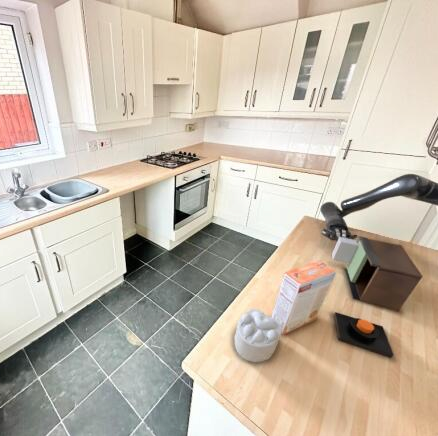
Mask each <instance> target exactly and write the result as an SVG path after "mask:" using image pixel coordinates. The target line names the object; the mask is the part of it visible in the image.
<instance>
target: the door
mask: <svg viewBox="0 0 438 436" xmlns="http://www.w3.org/2000/svg"><path fill="white" fill-rule="evenodd" d="M331 258H332V261H334V262H338V263H344V264H347V266H346V269H347V270H348V274H349V277H350V280H351V282H353V283H355V282H356V280H357V278H358V276H359V274H360V272H361V270H362V268H363V266H364V264H365V263H366V261H367V259H368V258H367V255H366V253H365V251H364V248H363V246H362V244H361V242H360V240H359V241H357V239H356V240H352V239H347V238H342V237H339V239H338V241H337V242H336V244H335V246H334V248H333V251H332V253H331Z"/></svg>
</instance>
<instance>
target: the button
mask: <svg viewBox="0 0 438 436" xmlns="http://www.w3.org/2000/svg"><path fill="white" fill-rule="evenodd" d="M360 319H361V320H359V321H358V322H357V324H356V326H357V328H358V329H359V330H361V331H362V332H364V333H367V334H370V333H372V331H373V330H374V326H373V325H372V324H371V323H372V322H370V321H368V320H367V319H363V320H362V318H360Z"/></svg>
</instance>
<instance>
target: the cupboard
mask: <svg viewBox="0 0 438 436" xmlns="http://www.w3.org/2000/svg"><path fill="white" fill-rule="evenodd" d="M358 239H359V241H360V242H361V244H362V246H363V248H364V251H365V253H366V255H367V258H368V259H367V261H366V263H365V264H364V266H363V268H362V270H361V272H360V274H359V276H358V278H357V280H356V282H355V283H353V282H351V280H350V277H349V274H348V270H347V267H345V268H343V269H344V273H345V277H346V280H347V282H348V287H349V290H350V294H351V297H352V300H354V301H359V302H362V303H366V304H368V305H372V306H376V307H380V308H383V309H388V310H391V311H394V312H399V311H400V310H401V309H402V307H403V305H404V304H405V303H406V301H407V300H408V298H409V297H410V295H411V294H412V293H413V291H414V290H415V288H416V287H417V286H418V284H419V282H420V281H421V279H423V275H422V273H421V272H420V270H419V268H418V267H417V265H415V263H414V261H413V260H412V258H411V257H410V256H409V254H408V253H407V251H406V249H405V248H404V246H403V245H402V244H397V243H392V242H387V241H381V240H375V239H371V238H369V237H364V236H358Z"/></svg>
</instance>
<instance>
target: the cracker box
mask: <svg viewBox="0 0 438 436" xmlns="http://www.w3.org/2000/svg"><path fill="white" fill-rule="evenodd" d="M336 274H337V270H336V269H334V268H332V267H331V266H329V265H328V264H325V263H324V262H322V261H321V260H315V261H313V262H309V263H307V264H304V265H302V266H298V267H296V268H293V269H289V270H287V271H284V272H283V275H282V279H281V282H280V284H279V288H278V292H277V295H276V298H275V301H274V305H273V308H272V311H271V316H270V317H271V318H273V319H275V320H277V321H278V322H279V323H280V325H281V327H282V333H281V334H283V335H285V334H288V333H290V332H292V331H294V330H297V329H299V328H301V327H303V326H306V325H308V324H310V323H312V322H314V321H316V320H317V317H318V315H319V313H320V310H321V308H322V306H323V304H324V301H325V300H326V297H327V294H328V292H329V291H330V288H331V285H332V283H333V281H334V279H335V277H336Z"/></svg>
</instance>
